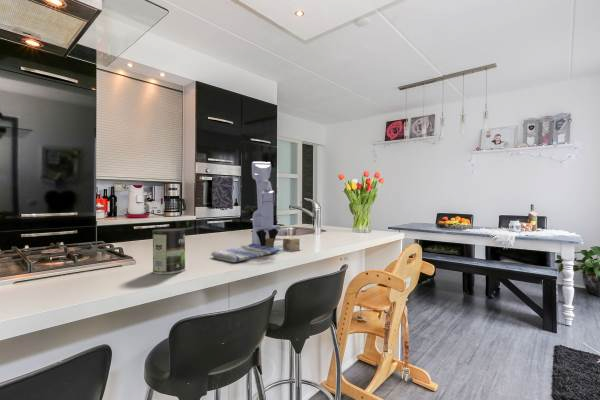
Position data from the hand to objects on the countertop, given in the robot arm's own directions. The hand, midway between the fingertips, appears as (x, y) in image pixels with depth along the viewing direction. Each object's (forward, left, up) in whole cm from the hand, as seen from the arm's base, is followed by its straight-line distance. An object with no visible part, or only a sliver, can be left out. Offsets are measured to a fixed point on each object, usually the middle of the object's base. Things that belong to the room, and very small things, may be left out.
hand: (267, 245), depth 143 cm
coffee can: (+10, -48, -2) cm, 49 cm away
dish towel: (+6, -15, -2) cm, 16 cm away
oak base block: (+8, +8, -1) cm, 11 cm away
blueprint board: (+4, +4, -2) cm, 6 cm away
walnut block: (0, 0, -1) cm, 1 cm away
